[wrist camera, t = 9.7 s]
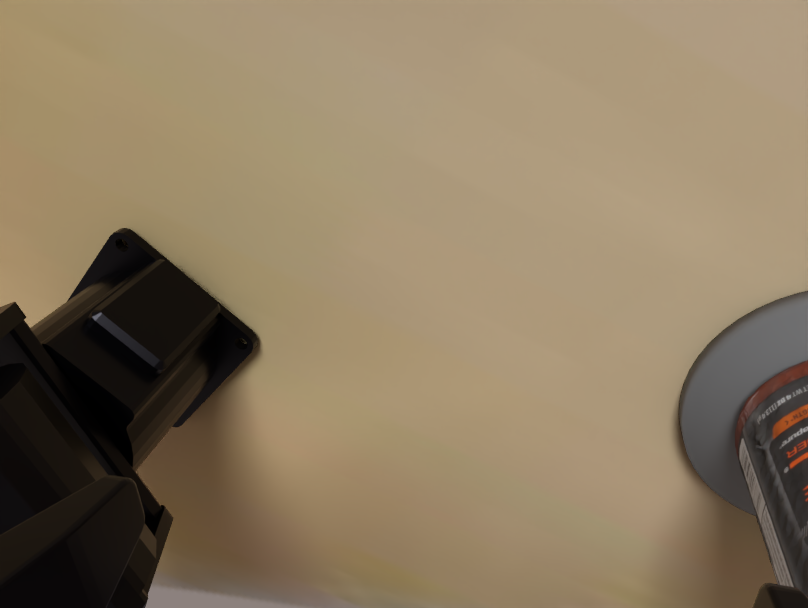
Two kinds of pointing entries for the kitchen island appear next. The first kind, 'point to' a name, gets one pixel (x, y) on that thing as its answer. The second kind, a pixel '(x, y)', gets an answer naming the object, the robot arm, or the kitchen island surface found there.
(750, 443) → the supplement bottle
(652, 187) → the kitchen island surface
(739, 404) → the coaster
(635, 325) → the kitchen island surface
